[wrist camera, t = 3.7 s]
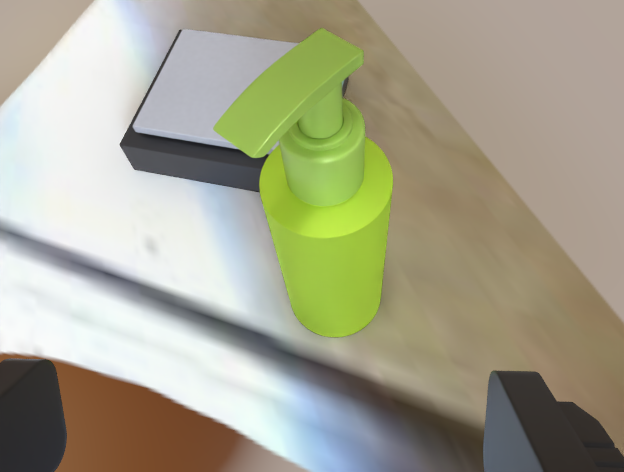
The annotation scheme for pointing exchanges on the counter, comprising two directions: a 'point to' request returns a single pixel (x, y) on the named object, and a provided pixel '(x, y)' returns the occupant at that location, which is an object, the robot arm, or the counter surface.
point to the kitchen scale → (200, 109)
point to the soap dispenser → (318, 182)
